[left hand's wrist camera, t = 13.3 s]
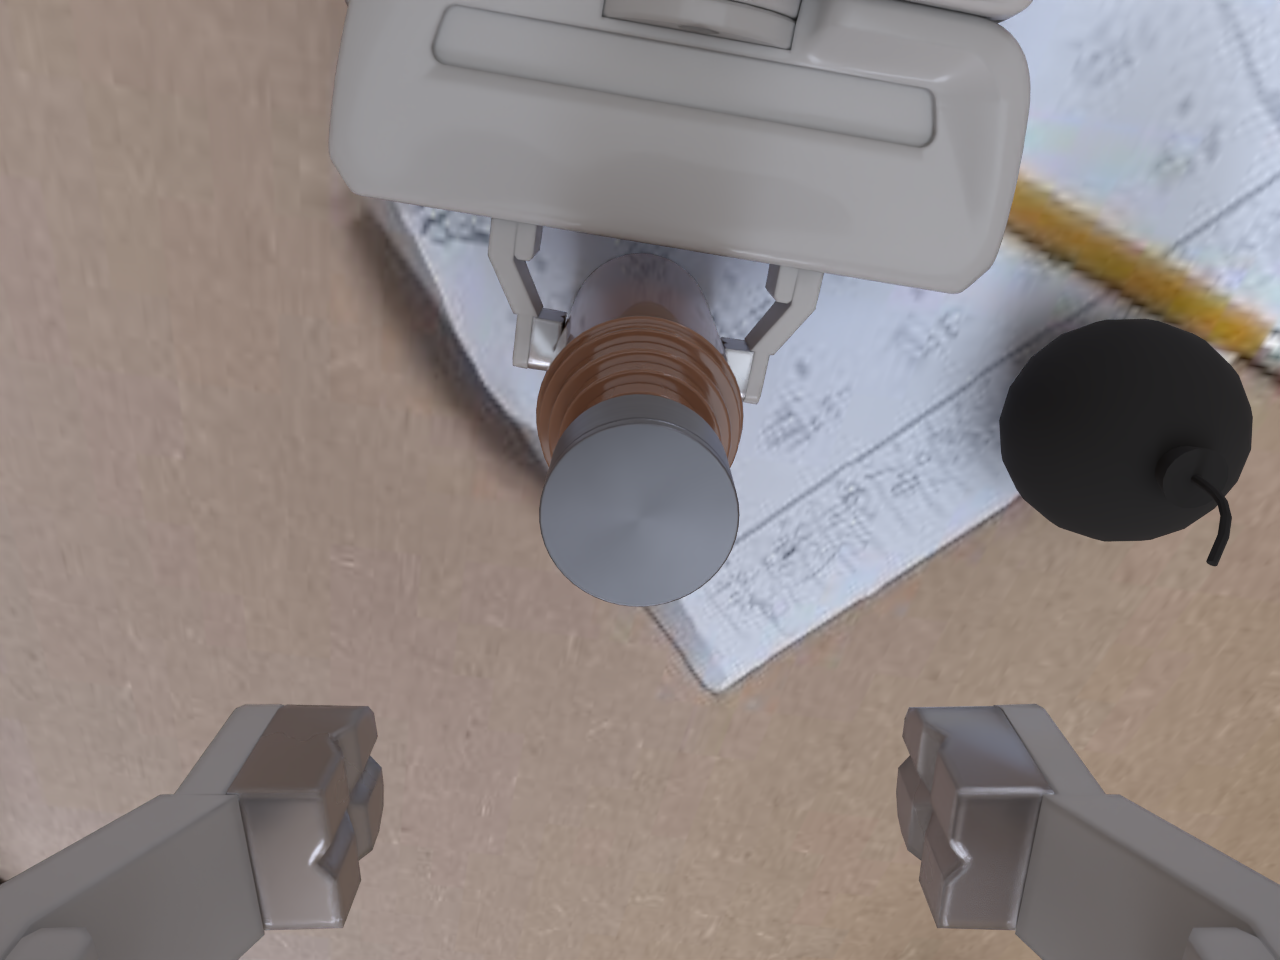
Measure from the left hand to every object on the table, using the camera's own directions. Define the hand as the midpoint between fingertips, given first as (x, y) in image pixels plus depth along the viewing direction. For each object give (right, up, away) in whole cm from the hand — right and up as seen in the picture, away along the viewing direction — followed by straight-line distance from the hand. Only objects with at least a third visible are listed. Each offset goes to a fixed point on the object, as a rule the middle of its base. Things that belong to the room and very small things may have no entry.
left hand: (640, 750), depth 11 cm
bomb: (+17, +6, +25) cm, 31 cm away
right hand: (0, +7, +19) cm, 20 cm away
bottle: (0, +9, +24) cm, 26 cm away
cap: (0, +3, +7) cm, 7 cm away
